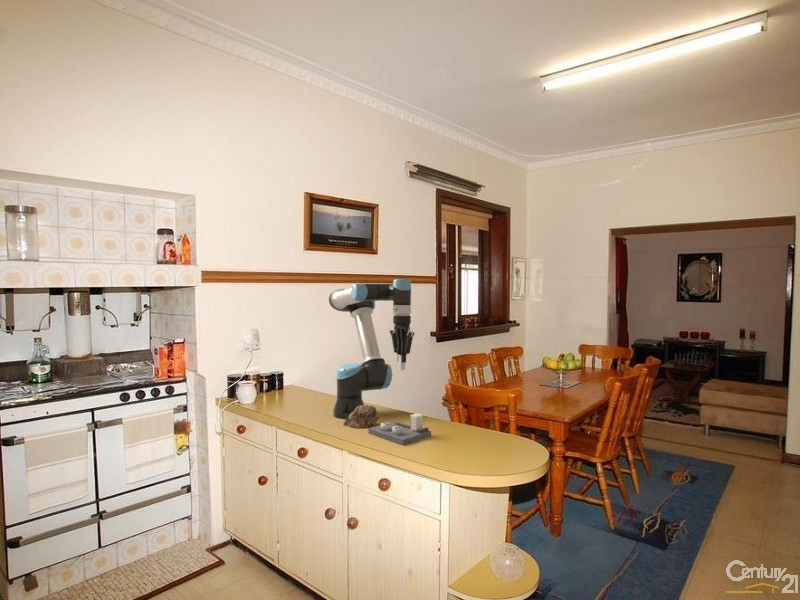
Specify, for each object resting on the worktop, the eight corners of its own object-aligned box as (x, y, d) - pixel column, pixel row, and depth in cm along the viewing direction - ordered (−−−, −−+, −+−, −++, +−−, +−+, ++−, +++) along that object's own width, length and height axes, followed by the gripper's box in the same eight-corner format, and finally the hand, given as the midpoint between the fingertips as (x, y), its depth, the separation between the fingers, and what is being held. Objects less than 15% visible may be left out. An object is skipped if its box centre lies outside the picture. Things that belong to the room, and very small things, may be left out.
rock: (352, 422, 214) (339, 428, 205) (350, 403, 214) (338, 408, 205) (380, 424, 208) (369, 430, 199) (379, 404, 208) (367, 409, 199)
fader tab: (410, 429, 193) (410, 415, 193) (417, 427, 196) (417, 413, 196) (416, 431, 190) (416, 416, 190) (423, 429, 193) (423, 414, 193)
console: (368, 433, 195) (368, 422, 195) (397, 425, 206) (397, 415, 206) (402, 445, 180) (402, 433, 180) (431, 435, 192) (431, 424, 192)
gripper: (385, 314, 206) (385, 368, 207) (406, 316, 197) (406, 372, 197) (397, 314, 211) (397, 366, 212) (419, 315, 202) (418, 370, 202)
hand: (401, 369), depth 204 cm, fingers closed
